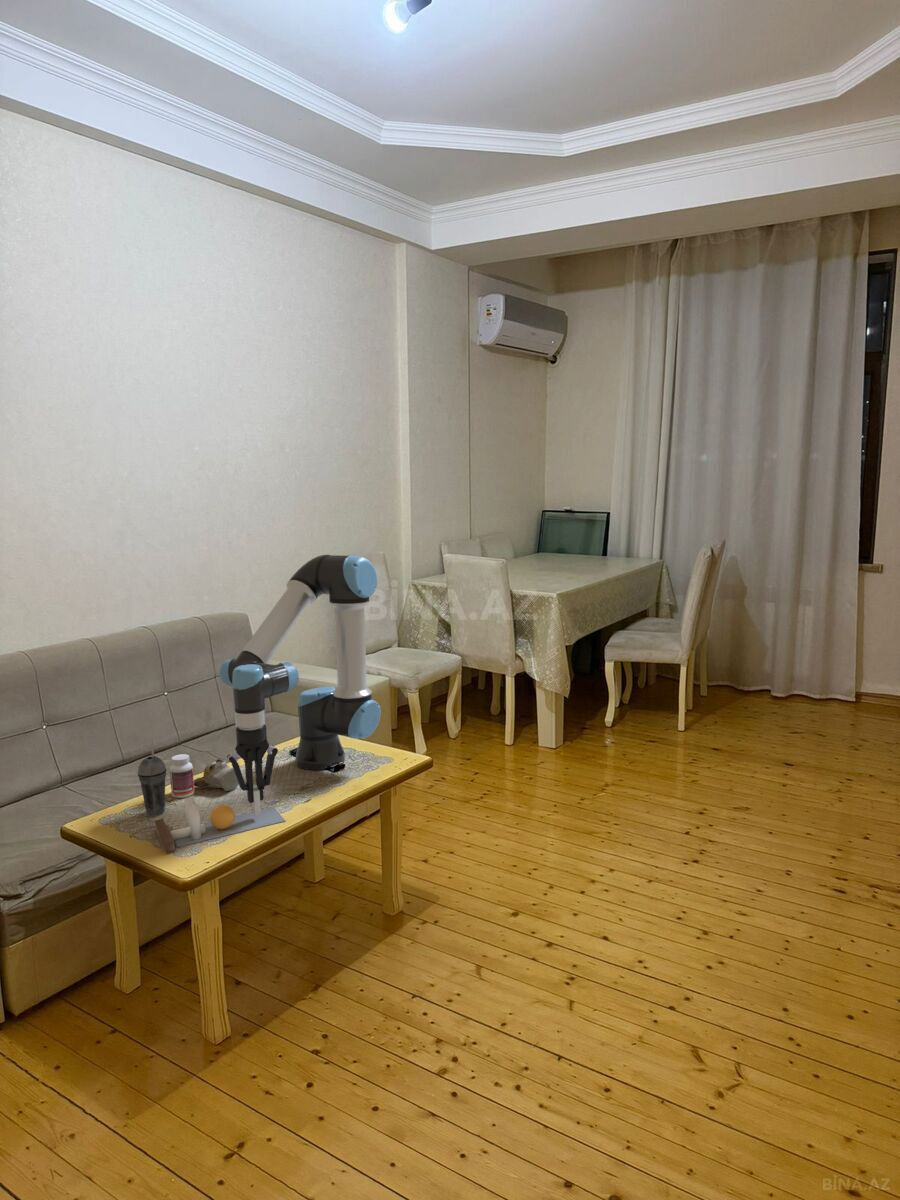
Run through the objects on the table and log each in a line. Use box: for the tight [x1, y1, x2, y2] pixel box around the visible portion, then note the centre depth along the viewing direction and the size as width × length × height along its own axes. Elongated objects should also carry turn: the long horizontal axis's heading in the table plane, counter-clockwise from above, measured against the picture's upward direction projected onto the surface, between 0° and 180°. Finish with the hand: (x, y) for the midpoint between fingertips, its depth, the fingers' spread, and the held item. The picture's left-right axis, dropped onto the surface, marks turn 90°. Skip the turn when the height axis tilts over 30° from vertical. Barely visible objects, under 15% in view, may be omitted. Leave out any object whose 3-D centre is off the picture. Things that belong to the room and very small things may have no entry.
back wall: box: [154, 818, 176, 855], centre depth 196 cm, size 2×14×3 cm, turn 30°
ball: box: [209, 804, 236, 830], centre depth 203 cm, size 6×6×6 cm
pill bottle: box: [169, 753, 195, 799], centre depth 225 cm, size 6×6×11 cm
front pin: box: [169, 822, 206, 840], centre depth 199 cm, size 2×2×8 cm
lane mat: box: [174, 806, 286, 848], centre depth 204 cm, size 27×10×1 cm, turn 120°
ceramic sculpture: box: [194, 758, 239, 792], centre depth 230 cm, size 11×9×15 cm
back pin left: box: [189, 803, 201, 840], centre depth 197 cm, size 2×2×8 cm
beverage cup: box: [137, 739, 167, 817], centre depth 212 cm, size 7×7×20 cm
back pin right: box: [184, 796, 196, 827], centre depth 201 cm, size 2×2×8 cm
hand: (256, 812), depth 207 cm, fingers closed
